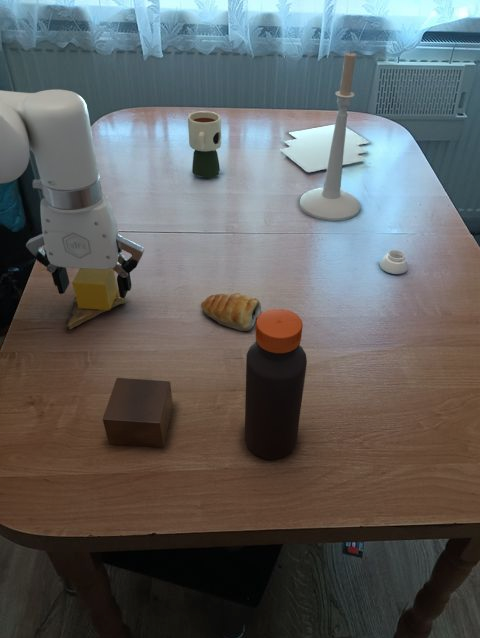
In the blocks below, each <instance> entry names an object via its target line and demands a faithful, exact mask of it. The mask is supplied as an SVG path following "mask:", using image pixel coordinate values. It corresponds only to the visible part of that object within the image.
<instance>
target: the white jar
mask: <svg viewBox="0 0 480 638" xmlns="http://www.w3.org/2000/svg"><path fill="white" fill-rule="evenodd" d="M379 266H380V268H381V269H382V270H383V271H385V272H386V273H389V274H392V275H401V274H404V273H406V272H407V271H408V269H409V265H408V261H407V258H406V254H405V252H403V251H401V250H399V249H391V250H389V251H388V252H387V253H386V254H385V255H384V256H383V258H381V260H380V262H379Z"/></svg>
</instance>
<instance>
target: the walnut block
mask: <svg viewBox="0 0 480 638" xmlns="http://www.w3.org/2000/svg"><path fill="white" fill-rule="evenodd" d="M173 407H174V401H173V394H172V386H171V381H170V380H157V379H142V378H141V379H140V378H126V377H116V379H115V382H114V385H113V388H112V391H111V393H110V396H109V399H108V402H107V405H106V408H105V411H104V414H103V417H102V423H103V427H104V431H105V435H106V438H107V442H108V445H117V446H129V447H130V446H131V447H145V448H146V447H148V448H160V449H161V448H165V443H166V439H167V434H168V430H169V425H170V421H171V416H172V413H173Z"/></svg>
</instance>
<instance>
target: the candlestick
mask: <svg viewBox="0 0 480 638" xmlns="http://www.w3.org/2000/svg"><path fill="white" fill-rule="evenodd" d="M356 58H357V54H356V53H354V52H345V53H344V57H343V64H342V66H343V67H342V73H341V80H340V87H339V90H338V91H335V93H334V94H335V95H336V97H337V99H336V104H337V106H338V107H337V108H338V111H337V113H336V117H335V122H334V125H335V128H334V133H333V139H332V144H331V150H330V155H329V161H328V166H327V169H326V173H325V176H324V177H325V178H324V182H323V187H317V188H313V189H311V190H308V191H306V192H305V193H303V195H302V196H300V199H299V206H300V209H301V210H302V212H304V213H305V214H306V215H308V216H310V217H312V218H315V219H317V220H322V221H328V222H341V221H347V220H350V219H352V218H354V217H356V216H357V215H358V213H360V210H361V209H360V207H361V204H360V202H359V200H358V199H357V198H356V197H355V196H354V195H353V194H351V193H350V192H349V191H346V190H344V189H341V188H342V175H343V166H344V165H343V154H344V144H345V133H346V127H347V121H348V116H349V114H348V109H349V106H351V104H352V99H353V97H355V96H356V93H354V92H352V85H353V79H354V73H355V72H354V71H355V64H356Z"/></svg>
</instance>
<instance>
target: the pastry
mask: <svg viewBox="0 0 480 638" xmlns="http://www.w3.org/2000/svg"><path fill="white" fill-rule="evenodd" d="M200 305H201V306H200V307H201V308H202V310H203V313H204V314H205V315H206V316H207V317H210V318H211V319H212V320H214V321H215V322H217V323H218V324H219V325H222V326H225V327H227V328H230V329H234V330H236V331H240V332H249V331H251V329H252V328H253V327H254V326H255V324H256V319H257V318H258V316H259V315H260V314H262V305H261V302H260V300H259V298H256V297H254V298H253V297H252V296H249V295H246V294H241V293H239V292H235V293H228V294H227V293H218V294H211V295H209V296H207V297H206V299H204V300H203V301H201V304H200Z"/></svg>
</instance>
